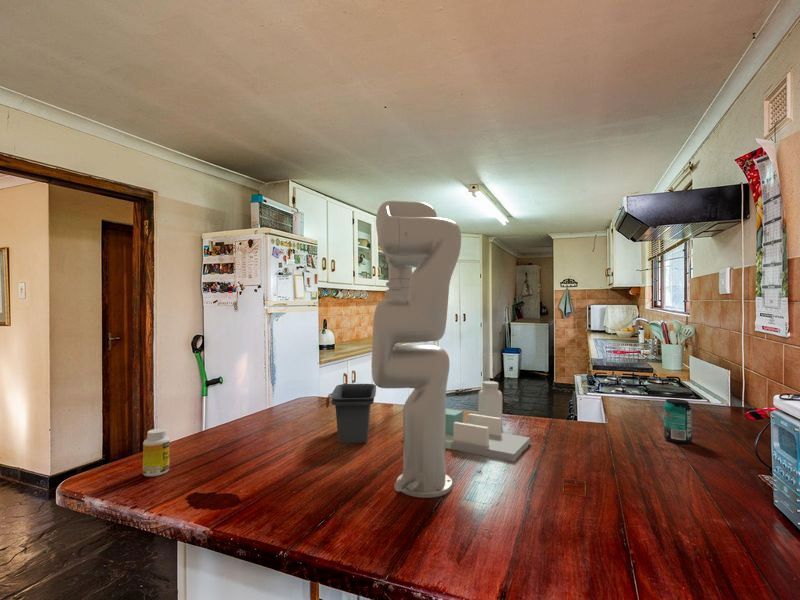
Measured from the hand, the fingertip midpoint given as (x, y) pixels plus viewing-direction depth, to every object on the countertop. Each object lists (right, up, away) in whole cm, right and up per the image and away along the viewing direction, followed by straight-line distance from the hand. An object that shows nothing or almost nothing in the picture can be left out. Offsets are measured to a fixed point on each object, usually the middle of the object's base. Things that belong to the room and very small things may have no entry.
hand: (400, 342), depth 131 cm
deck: (+19, -29, -9) cm, 36 cm away
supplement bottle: (-60, -29, -32) cm, 73 cm away
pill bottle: (+30, -30, +6) cm, 43 cm away
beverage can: (+84, -29, -8) cm, 89 cm away
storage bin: (-16, -29, -3) cm, 33 cm away
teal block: (+15, -27, -5) cm, 31 cm away
